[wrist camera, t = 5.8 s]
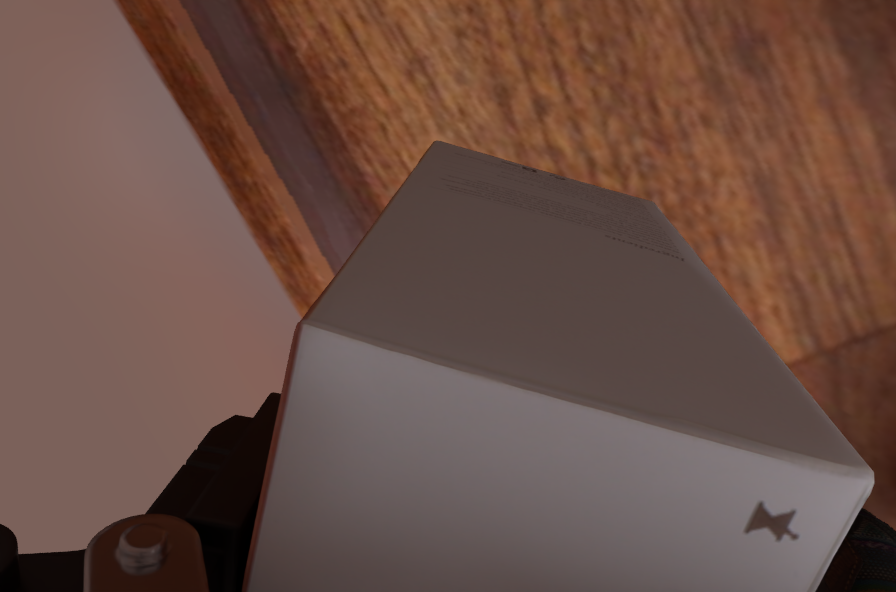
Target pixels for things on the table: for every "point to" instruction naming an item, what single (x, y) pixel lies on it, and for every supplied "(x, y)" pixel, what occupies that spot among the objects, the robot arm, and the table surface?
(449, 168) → the small box
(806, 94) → the table surface
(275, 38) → the table surface
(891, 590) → the mate gourd
